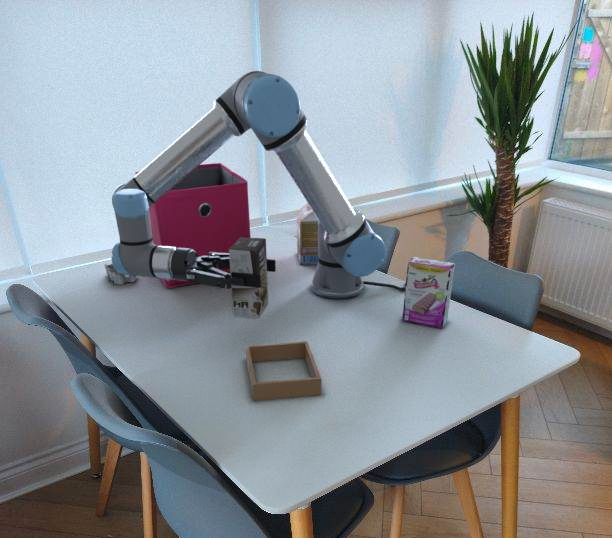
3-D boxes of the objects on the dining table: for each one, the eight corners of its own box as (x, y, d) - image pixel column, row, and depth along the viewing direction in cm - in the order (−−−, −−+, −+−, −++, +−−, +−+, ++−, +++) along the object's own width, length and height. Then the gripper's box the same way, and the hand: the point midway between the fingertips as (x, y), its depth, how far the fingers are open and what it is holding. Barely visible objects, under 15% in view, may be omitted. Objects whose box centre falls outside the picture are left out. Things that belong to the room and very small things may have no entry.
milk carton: (297, 254, 205) (296, 196, 195) (328, 252, 206) (329, 195, 196) (300, 264, 196) (300, 205, 186) (332, 263, 197) (333, 204, 187)
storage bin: (165, 290, 178) (152, 191, 163) (146, 259, 200) (133, 170, 185) (255, 276, 188) (250, 181, 172) (227, 248, 210) (221, 162, 194)
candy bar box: (401, 321, 160) (406, 262, 151) (406, 314, 164) (412, 256, 155) (443, 329, 156) (451, 268, 147) (447, 322, 160) (455, 262, 151)
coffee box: (259, 320, 137) (256, 250, 129) (232, 317, 138) (227, 248, 130) (269, 304, 145) (267, 237, 136) (243, 301, 146) (239, 235, 137)
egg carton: (138, 281, 184) (137, 268, 182) (114, 286, 181) (112, 273, 179) (128, 270, 192) (126, 258, 190) (105, 274, 189) (102, 262, 187)
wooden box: (307, 355, 144) (307, 341, 142) (321, 394, 130) (321, 378, 127) (246, 361, 142) (245, 345, 140) (253, 400, 128) (252, 384, 125)
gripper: (198, 263, 152) (283, 272, 146) (156, 296, 134) (251, 308, 129) (195, 233, 148) (282, 242, 142) (151, 264, 130) (249, 274, 125)
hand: (267, 273), depth 135 cm, fingers closed on coffee box, 9 cm apart
